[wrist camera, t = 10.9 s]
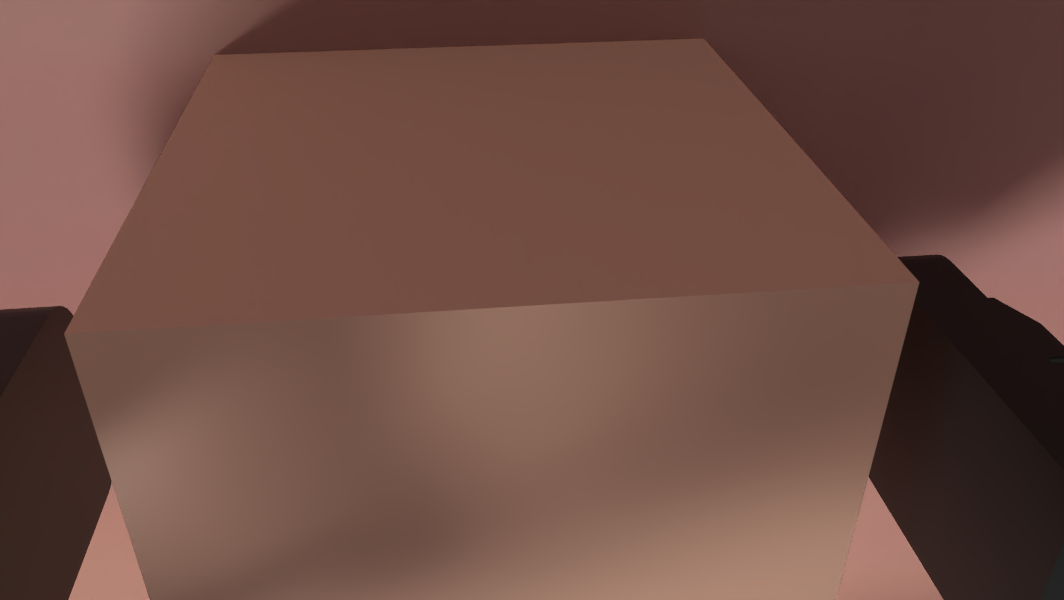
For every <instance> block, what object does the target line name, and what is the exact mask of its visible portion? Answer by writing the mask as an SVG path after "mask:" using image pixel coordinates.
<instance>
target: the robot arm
mask: <svg viewBox="0 0 1064 600" xmlns="http://www.w3.org/2000/svg"><path fill="white" fill-rule="evenodd" d="M898 259H899V260H900V261H901V262H902V263H903V264H904V265H905V266H906V268H907V269H908V270H909V271H910V272H911V273H912V274H913V275H914V277H915V278H916V279H917V280H918V281H919V286H918V289H917V293H916V297H915V301H914V305H913V309H912V312H911V316H910V320H909V324H908V328H907V331H906V335H905V339H904V343H903V347H902V350H901V354H900V358H899V362H898V366H897V370H896V373H895V377H894V381H893V385H892V389H891V392H890V396H889V400H888V404H887V408H886V412H885V415H884V419H883V423H882V427H881V431H880V434H879V438H878V442H877V446H876V450H875V453H874V457H873V461H872V465H871V469H870V473H869V478H870V480H871V481H872V483H873V485H874V486H875V488H876V490H877V491H878V493H879V494H880V496H881V498H882V499H883V501H884V503H885V504H886V506H887V508H888V509H889V511H890V512H891V514H892V516H893V517H894V519H895V521H896V522H897V524H898V526H899V527H900V529H901V531H902V532H903V534H904V535H905V537H906V539H907V540H908V542H909V544H910V545H911V547H912V549H913V550H914V552H915V553H916V555H917V557H918V558H919V560H920V562H921V563H922V565H923V567H924V568H925V570H926V571H927V573H928V575H929V576H930V578H931V580H932V581H933V583H934V585H935V586H936V588H937V589H938V591H939V593H940V594H941V596H942V598H943V599H944V600H1064V346H1063V345H1062V344H1061V343H1060V342H1059V341H1058V340H1057V339H1056V338H1055V337H1054V336H1053V335H1052V334H1051V333H1050V332H1049V331H1048V330H1047V329H1046V328H1045V327H1044V326H1043V325H1042V324H1040V323H1039V322H1037V321H1035V320H1033V319H1031V318H1030V317H1028V316H1026V315H1024V314H1022V313H1020V312H1019V311H1017V310H1015V309H1013V308H1011V307H1009V306H1008V305H1006V304H1004V303H1002V302H1000V301H999V300H997V299H995V298H987V297H986V296H985V295H984V294H983V293H982V292H981V291H980V290H979V289H978V288H977V287H976V286H975V285H974V284H973V283H972V282H971V281H970V280H969V279H968V278H967V277H966V276H965V275H964V274H963V273H962V272H961V271H960V270H959V269H958V268H957V267H956V266H955V265H954V264H953V263H952V262H951V261H950V260H949V259H947V258H946V257H944V256H942V255H923V256H906V257H898ZM72 318H73V315H72V313H71V312H70V311H69V310H68V309H67V308H65V307H63V306H53V307H37V308H20V309H4V310H0V600H68V599H69V596H70V594H71V591H72V588H73V586H74V583H75V580H76V578H77V575H78V573H79V570H80V567H81V565H82V562H83V559H84V557H85V554H86V551H87V549H88V546H89V544H90V541H91V538H92V536H93V533H94V530H95V528H96V525H97V522H98V520H99V517H100V514H101V512H102V509H103V507H104V504H105V501H106V499H107V496H108V493H109V490H110V486H111V482H112V481H111V477H110V474H109V471H108V468H107V465H106V462H105V459H104V456H103V453H102V450H101V447H100V443H99V440H98V437H97V434H96V431H95V428H94V425H93V422H92V419H91V416H90V413H89V409H88V406H87V403H86V400H85V397H84V394H83V391H82V388H81V385H80V382H79V379H78V375H77V372H76V369H75V366H74V363H73V360H72V357H71V354H70V351H69V348H68V344H67V341H66V338H65V335H64V333H65V331H66V329H67V327H68V326H69V324H70V322H71V320H72Z"/></svg>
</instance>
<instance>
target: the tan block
mask: <svg viewBox="0 0 1064 600" xmlns="http://www.w3.org/2000/svg"><path fill="white" fill-rule="evenodd" d="M918 286H919V281H918V280H917V279H916V278H915V277H914V275H913V274H912V273H911V272H910V271H909V270H908V269H907V268H906V266H905V265H904V264H903V263H902V262H901V261H900V260H899V259H898V257H897V256H896V255H895V254H894V253H893V252H892V251H891V249H890V248H889V247H888V246H887V245H886V244H885V243H884V242H883V240H882V239H881V238H880V237H879V236H878V235H877V234H876V232H875V231H874V230H873V229H872V228H871V227H870V226H869V225H868V223H867V222H866V221H865V220H864V219H863V218H862V217H861V216H860V214H859V213H858V212H857V211H856V210H855V209H854V208H853V206H852V205H851V204H850V203H849V202H848V201H847V200H846V199H845V197H844V196H843V195H842V194H841V193H840V192H839V191H838V190H837V188H836V187H835V186H834V185H833V184H832V183H831V182H830V180H829V179H828V178H827V177H826V176H825V175H824V174H823V173H822V171H821V170H820V169H819V168H818V167H817V166H816V165H815V164H814V162H813V161H812V160H811V159H810V158H809V157H808V156H807V154H806V153H805V152H804V151H803V150H802V149H801V148H800V147H799V145H798V144H797V143H796V142H795V141H794V140H793V139H792V138H791V136H790V135H789V134H788V133H787V132H786V131H785V130H784V128H783V127H782V126H781V125H780V124H779V123H778V122H777V121H776V119H775V118H774V117H773V116H772V115H771V114H770V113H769V112H768V110H767V109H766V108H765V107H764V106H763V105H762V104H761V102H760V101H759V100H758V99H757V98H756V97H755V96H754V95H753V93H752V92H751V91H750V90H749V89H748V88H747V87H746V85H745V84H744V83H743V82H742V81H741V80H740V79H739V78H738V76H737V75H736V74H735V73H734V72H733V71H732V70H731V69H730V67H729V66H728V65H727V64H726V63H725V62H724V61H723V59H722V58H721V57H720V56H719V55H718V54H717V53H716V52H715V50H714V49H713V48H712V47H711V46H710V45H709V44H708V43H707V41H706V40H705V39H704V38H702V39H673V40H643V41H613V42H583V43H553V44H524V45H494V46H464V47H434V48H404V49H375V50H345V51H315V52H285V53H255V54H226V55H214V56H213V58H212V60H211V62H210V64H209V65H208V67H207V69H206V71H205V73H204V75H203V77H202V78H201V80H200V82H199V84H198V86H197V88H196V90H195V91H194V93H193V95H192V97H191V99H190V101H189V103H188V104H187V106H186V108H185V110H184V112H183V114H182V116H181V117H180V119H179V121H178V123H177V125H176V127H175V129H174V130H173V132H172V134H171V136H170V138H169V140H168V142H167V143H166V145H165V147H164V149H163V151H162V153H161V155H160V157H159V158H158V160H157V162H156V164H155V166H154V168H153V170H152V171H151V173H150V175H149V177H148V179H147V181H146V183H145V184H144V186H143V188H142V190H141V192H140V194H139V196H138V197H137V199H136V201H135V203H134V205H133V207H132V209H131V210H130V212H129V214H128V216H127V218H126V220H125V222H124V223H123V225H122V227H121V229H120V231H119V233H118V235H117V236H116V238H115V240H114V242H113V244H112V246H111V248H110V249H109V251H108V253H107V255H106V257H105V259H104V261H103V262H102V264H101V266H100V268H99V270H98V272H97V274H96V275H95V277H94V279H93V281H92V283H91V285H90V287H89V288H88V290H87V292H86V294H85V296H84V298H83V300H82V301H81V303H80V305H79V307H78V309H77V311H76V313H75V314H74V316H73V318H72V320H71V322H70V324H69V326H68V327H67V329H66V331H65V333H64V335H65V338H66V341H67V344H68V348H69V351H70V354H71V357H72V360H73V363H74V366H75V369H76V372H77V375H78V379H79V382H80V385H81V388H82V391H83V394H84V397H85V400H86V403H87V406H88V409H89V413H90V416H91V419H92V422H93V425H94V428H95V431H96V434H97V437H98V440H99V443H100V447H101V450H102V453H103V456H104V459H105V462H106V465H107V468H108V471H109V474H110V477H111V481H112V484H113V487H114V490H115V493H116V496H117V499H118V502H119V505H120V508H121V511H122V515H123V518H124V521H125V524H126V527H127V530H128V533H129V536H130V539H131V542H132V546H133V549H134V552H135V555H136V558H137V561H138V564H139V567H140V570H141V573H142V576H143V580H144V583H145V586H146V589H147V592H148V595H149V598H150V600H836V598H837V595H838V591H839V587H840V583H841V579H842V576H843V572H844V568H845V564H846V560H847V556H848V553H849V549H850V545H851V541H852V537H853V534H854V530H855V526H856V522H857V518H858V515H859V511H860V507H861V503H862V499H863V495H864V492H865V488H866V484H867V480H868V476H869V473H870V469H871V465H872V461H873V457H874V453H875V450H876V446H877V442H878V438H879V434H880V431H881V427H882V423H883V419H884V415H885V412H886V408H887V404H888V400H889V396H890V392H891V389H892V385H893V381H894V377H895V373H896V370H897V366H898V362H899V358H900V354H901V350H902V347H903V343H904V339H905V335H906V331H907V328H908V324H909V320H910V316H911V312H912V309H913V305H914V301H915V297H916V293H917V289H918Z"/></svg>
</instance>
